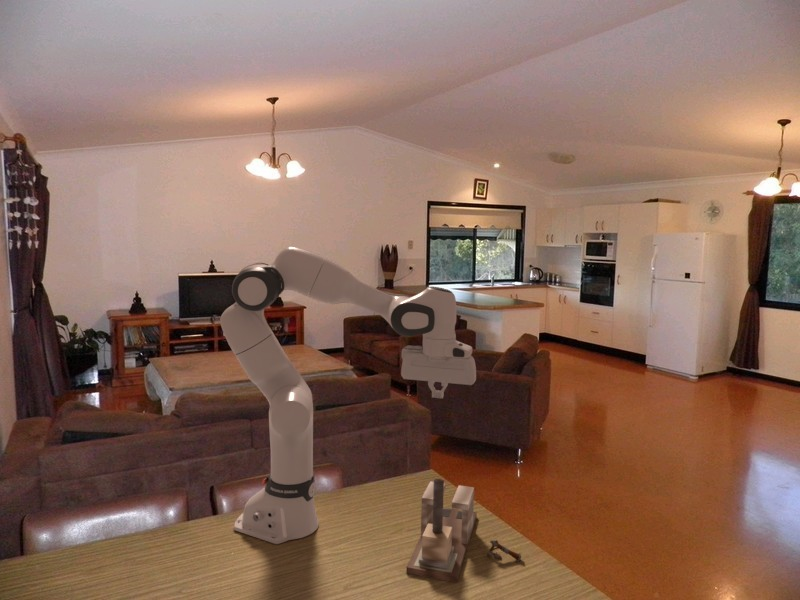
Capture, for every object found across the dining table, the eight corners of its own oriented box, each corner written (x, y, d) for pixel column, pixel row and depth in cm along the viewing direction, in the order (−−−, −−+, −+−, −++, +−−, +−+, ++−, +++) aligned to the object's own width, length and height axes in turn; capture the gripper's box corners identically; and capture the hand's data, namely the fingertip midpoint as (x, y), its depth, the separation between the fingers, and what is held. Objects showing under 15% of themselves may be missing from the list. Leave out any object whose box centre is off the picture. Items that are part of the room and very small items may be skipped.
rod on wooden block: (418, 563, 131) (420, 486, 129) (426, 545, 139) (428, 472, 137) (447, 568, 129) (450, 490, 127) (454, 550, 137) (456, 476, 135)
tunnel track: (406, 573, 130) (407, 524, 129) (434, 510, 160) (435, 471, 159) (457, 582, 127) (458, 533, 126) (476, 517, 157) (477, 476, 155)
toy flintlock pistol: (483, 550, 139) (492, 536, 138) (513, 566, 138) (521, 552, 137) (483, 555, 137) (491, 540, 136) (513, 571, 136) (521, 556, 135)
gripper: (398, 346, 149) (397, 396, 151) (474, 352, 144) (472, 404, 145) (404, 342, 155) (403, 390, 157) (478, 347, 150) (476, 397, 151)
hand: (437, 397), depth 151 cm, fingers closed
